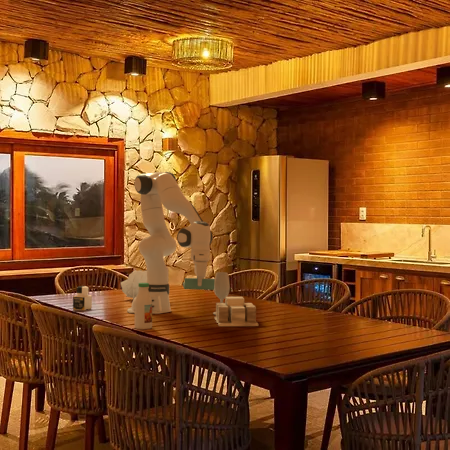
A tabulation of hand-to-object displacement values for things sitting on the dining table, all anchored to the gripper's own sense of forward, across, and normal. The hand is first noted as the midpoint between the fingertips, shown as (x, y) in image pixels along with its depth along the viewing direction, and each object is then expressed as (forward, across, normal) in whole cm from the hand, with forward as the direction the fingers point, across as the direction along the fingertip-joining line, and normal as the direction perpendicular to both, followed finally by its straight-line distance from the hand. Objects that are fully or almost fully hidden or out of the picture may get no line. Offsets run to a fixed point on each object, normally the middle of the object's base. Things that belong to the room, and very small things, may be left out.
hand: (199, 285), depth 315 cm
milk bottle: (+18, +16, -25) cm, 35 cm away
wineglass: (+18, -22, +14) cm, 31 cm away
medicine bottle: (+20, -43, -57) cm, 74 cm away
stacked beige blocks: (+17, +3, +18) cm, 24 cm away
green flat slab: (+2, -6, 0) cm, 6 cm away
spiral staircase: (+20, -75, -25) cm, 82 cm away
